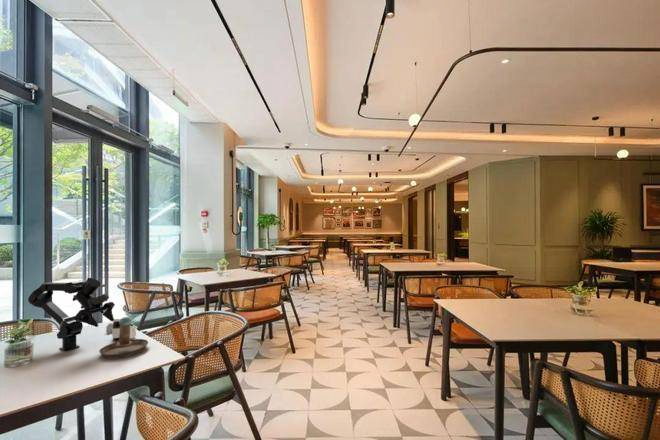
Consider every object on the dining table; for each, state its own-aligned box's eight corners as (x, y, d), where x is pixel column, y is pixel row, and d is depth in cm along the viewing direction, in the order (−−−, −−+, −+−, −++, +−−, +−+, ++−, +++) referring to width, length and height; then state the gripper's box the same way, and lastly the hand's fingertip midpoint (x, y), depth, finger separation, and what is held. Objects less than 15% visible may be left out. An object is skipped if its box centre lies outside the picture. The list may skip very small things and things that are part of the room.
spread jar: (114, 336, 191) (114, 316, 191) (137, 333, 195) (137, 313, 195) (110, 343, 180) (110, 321, 180) (134, 339, 184) (134, 318, 184)
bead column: (114, 348, 163) (116, 319, 163) (118, 343, 169) (119, 315, 169) (129, 347, 165) (131, 318, 165) (133, 342, 171) (134, 314, 171)
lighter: (106, 333, 197) (106, 319, 197) (106, 332, 198) (106, 319, 198) (120, 330, 201) (120, 317, 201) (120, 330, 203) (120, 316, 203)
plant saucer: (88, 361, 156) (88, 354, 156) (115, 345, 177) (115, 339, 177) (134, 360, 157) (134, 352, 157) (155, 344, 177) (155, 338, 178)
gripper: (79, 293, 161) (99, 317, 158) (111, 286, 179) (129, 307, 177) (65, 309, 162) (85, 333, 160) (99, 300, 180) (117, 322, 178)
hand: (105, 323), depth 169 cm, fingers open, 9 cm apart
